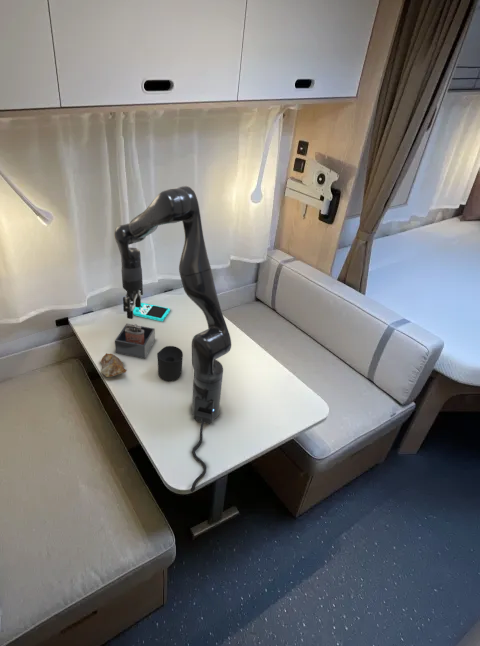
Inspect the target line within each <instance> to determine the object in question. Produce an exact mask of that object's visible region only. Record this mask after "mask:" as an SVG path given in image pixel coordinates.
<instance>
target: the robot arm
mask: <svg viewBox="0 0 480 646" xmlns="http://www.w3.org/2000/svg"><path fill="white" fill-rule="evenodd" d="M197 197H198V196H197V194H196V192H195V191H194V189H193V188H192V187H191V186H189V185H183V186H178V187H173V188H168V189H165V190H162V191H160V192H159V193H158V194H156V196H155V197H154V199H153V200H152V201H151V203H150V204H149V205H148V206H147V207H146V209H145V210H144V211H142V212H141V213H139V214H138V215H136V216H135V217H134V218H132V219H131V221H130V222H129V223H125V224H121V225H118V226H116V227H115V229H114V233H113V236H114V240H115V243H116V245H117V248H118V251H119V253H120V258H121V259H120V260H121V283H122V289H124V291H126V294H125V296H123V298H122V307H123V312H124V313H126V318H127V319H129V320H133V319H134V314H133V310H134V306H135V307H139V308H140V307H141V303H142V296H143V294H144V289H143V286H144V285H143V284H144V283H143V267H142V257H141V254H142V253H141V250H140V249H138V248H137V247H133V246H132V247H131V246H129V245H132V244H133V245H134V244H136V243H139V242H142V241H144V240H145V239H146V237H147V236H150V235H151V234H153V233H154V232H155V231H156V230H157V229H158V228H159V226H163V225H169V224H176V223H182V225H183V230H184V231H183V232H184V243H183V247H182V251H181V254H180V259H179V265H178V272H179V277H180V280H181V285H182V288H183V291H184V293H185V295H186V296H187V297H188V298H189V299H190V300H191V301H192V302H193V303H194V304H195V305H196V306H197V307H198V308H199V310H201V311H202V313H203V315H204V317H205V320H206V324H207V329H205V330H202V331H200V332H198V333H197V334H195V335H194V336H193V338H192V339H191V365H192V369H193V381H192V403H191V404H192V405H191V413H192V415H193V419H194V420H195V422H198V423H199V422H200V428H199V440H198V442H197V444H195V445H194V447H193V448H192V451H191V454H192V456H193V458H194V459H195V460H196V461H197V462H199V464H201V466H202V468H203V469H202V472H201V473H200V474H199V475H198V476H197V477H196V478H195V480H194V481H193V482H192V484H191V486H190V487H191V488H190V492H191V493H193V492H194V491H195V487H196V486H197V484H198V482H199V481H200V480H202V478H203V477H204V476H205V474H206V473H207V465H206V463H205V461H203V460H202V459H201V458H200V457H198V456H197V455H196V450H197V449H198V448H199V447H200V446H201V444H202V442H203V430H204V424H208V425H211V424H212V422H213V421H214V420H216V419H217V418H218V417H219V415H220V406H221V398H222V397H221V396H222V386H223V377H224V366H223V363H221V362H220V361H219V360H218V359H219V358H221V357H223V356H225V355H227V354H228V353H230V351H231V349H232V338H231V335H230V332H229V329H228V326H227V323H226V319H225V317H224V315H223V314H224V313H223V311H222V308H221V305H220V300H219V297H218V293H217V289H216V285H215V279H214V275H213V272H212V267H211V263H210V260H209V256H208V251H207V248H206V241H205V237H204V231H203V225H202V217H201V211H200V204H199V201H198V198H197Z"/></svg>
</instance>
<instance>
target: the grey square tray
mask: <svg viewBox="0 0 480 646" xmlns="http://www.w3.org/2000/svg"><path fill="white" fill-rule="evenodd" d="M127 324H128V323H125V325H124V326H123V328H122V330H121V331H120V332H119V333H118V335H117V336H116V338H115V339H114V347H115V354H121V355H126V356H129V357H135V358H139V359H140V358H141V359H144V360H145V359H146V357H147V356H148V354H149V352H150V351H151V349H152V347H153V345H154V343H155V341H156V329H155V328H153V327H150V326H149V327H148V326H143V325H140V326H141V329H142V330H144V345H141V344H136V343H131V342H126V333H125V329H126V325H127ZM129 324H130V325H133V324H132V323H129ZM136 325H137V324H136ZM137 326H139V325H137Z"/></svg>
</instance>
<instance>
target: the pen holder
mask: <svg viewBox="0 0 480 646" xmlns="http://www.w3.org/2000/svg"><path fill="white" fill-rule="evenodd" d="M156 357H157V373H158V376H159V378H160V379H161V380H163V381H164V382H169V383H170V382H176V381H178V380H179V379H180V378H181V377H182V371H183V360H184V359H183V358H184V351H183V350H182V349H181V348H179V347H178V346H174V345H166V346H164V347H163V348H161V349H160V350H159V351H158V352H157V353H156Z"/></svg>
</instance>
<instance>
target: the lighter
mask: <svg viewBox="0 0 480 646" xmlns="http://www.w3.org/2000/svg"><path fill="white" fill-rule="evenodd" d="M126 324H127V325H126ZM126 324H125V325H126V329H125V333H126V342H131V343H136V344H141V345H144V330H142V329H141V326H142V325H138V326H137V324H136V323H135V324H132V325H130V324H131V323H126Z"/></svg>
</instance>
